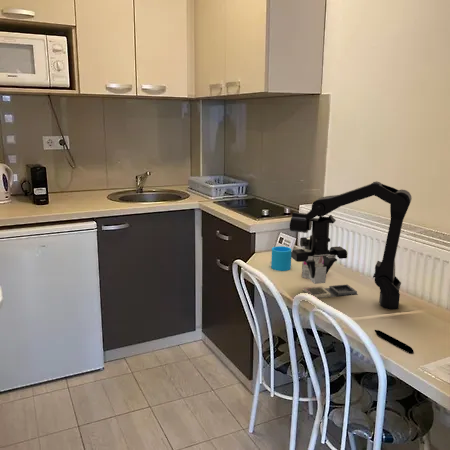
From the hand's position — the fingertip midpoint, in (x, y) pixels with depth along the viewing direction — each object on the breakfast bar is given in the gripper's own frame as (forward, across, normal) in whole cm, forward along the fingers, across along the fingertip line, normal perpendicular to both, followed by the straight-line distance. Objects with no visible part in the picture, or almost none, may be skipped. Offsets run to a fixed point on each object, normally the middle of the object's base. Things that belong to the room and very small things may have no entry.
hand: (318, 277), depth 163 cm
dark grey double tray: (+7, -5, 0) cm, 9 cm away
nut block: (+2, 0, 0) cm, 2 cm away
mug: (+7, +2, -34) cm, 35 cm away
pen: (+8, -7, +36) cm, 38 cm away
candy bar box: (+7, -7, -19) cm, 22 cm away
